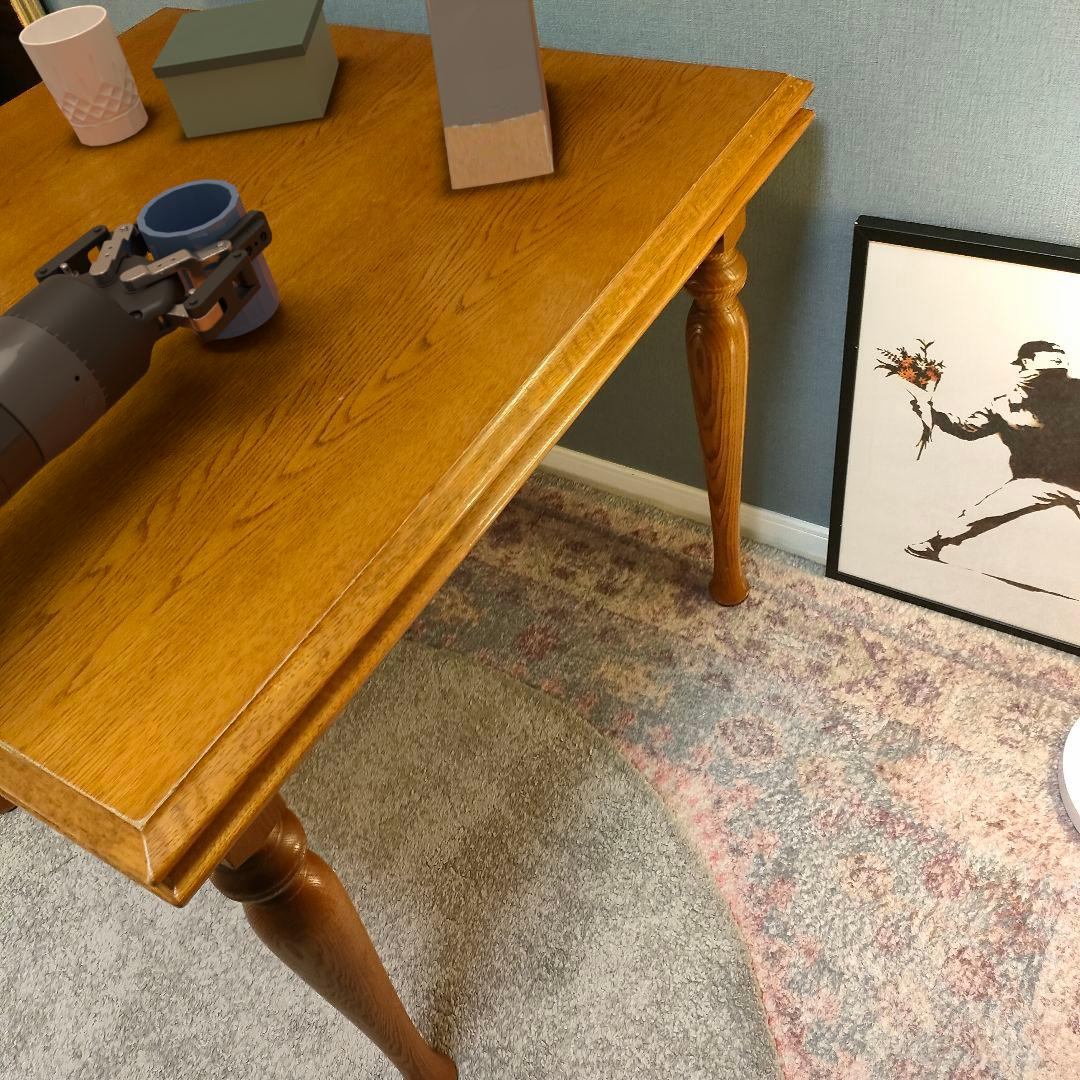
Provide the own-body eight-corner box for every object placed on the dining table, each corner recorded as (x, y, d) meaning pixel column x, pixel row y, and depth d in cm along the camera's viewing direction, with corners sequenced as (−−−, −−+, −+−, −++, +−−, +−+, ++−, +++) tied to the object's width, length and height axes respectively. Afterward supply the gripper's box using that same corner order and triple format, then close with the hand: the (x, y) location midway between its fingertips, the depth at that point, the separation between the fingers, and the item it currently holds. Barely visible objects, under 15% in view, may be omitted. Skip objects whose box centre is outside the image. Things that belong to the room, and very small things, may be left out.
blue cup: (178, 344, 68) (124, 242, 62) (199, 287, 72) (151, 186, 66) (271, 333, 67) (226, 229, 61) (287, 276, 72) (246, 173, 66)
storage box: (184, 144, 92) (151, 67, 87) (211, 86, 100) (182, 13, 95) (327, 122, 91) (301, 43, 85) (343, 65, 98) (321, -10, 93)
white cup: (94, 161, 93) (38, 51, 85) (62, 138, 97) (6, 32, 90) (169, 124, 95) (120, 15, 88) (134, 103, 100) (85, -2, 92)
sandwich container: (449, 197, 79) (401, -4, 67) (451, 107, 89) (409, -81, 78) (557, 179, 78) (526, -27, 67) (546, 90, 88) (518, -102, 77)
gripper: (106, 342, 52) (288, 174, 61) (-75, 299, 58) (116, 151, 67) (167, 445, 58) (325, 278, 67) (-3, 397, 63) (164, 249, 72)
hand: (220, 215), depth 67 cm, fingers closed on blue cup, 6 cm apart
